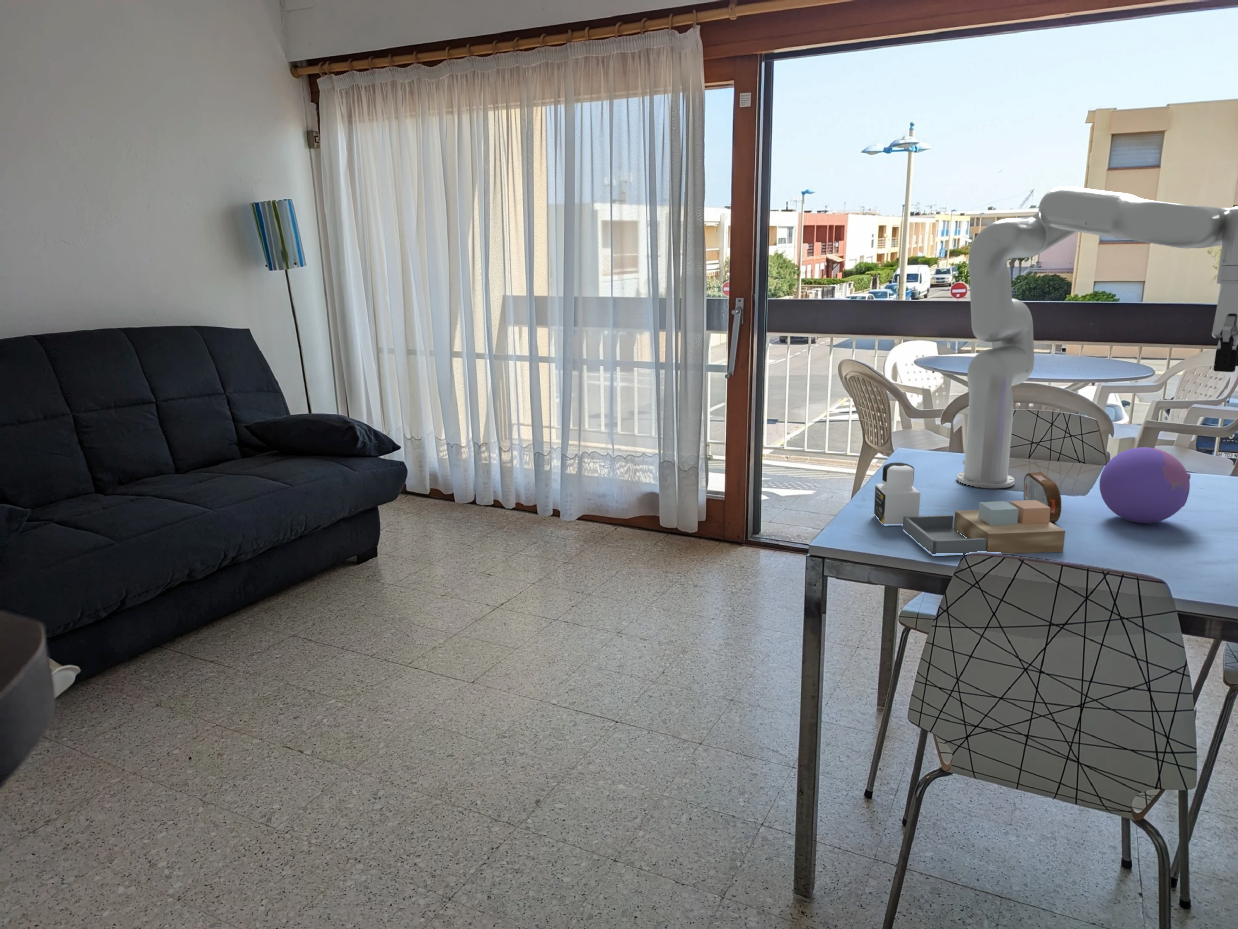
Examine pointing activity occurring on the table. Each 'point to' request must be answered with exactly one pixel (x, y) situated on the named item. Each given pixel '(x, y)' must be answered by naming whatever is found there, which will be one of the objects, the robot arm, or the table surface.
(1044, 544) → the board
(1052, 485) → the tin
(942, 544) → the tray
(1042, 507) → the tile terracotta
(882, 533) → the table surface
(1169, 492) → the decorative ball
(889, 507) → the medicine bottle
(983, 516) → the tile slate
